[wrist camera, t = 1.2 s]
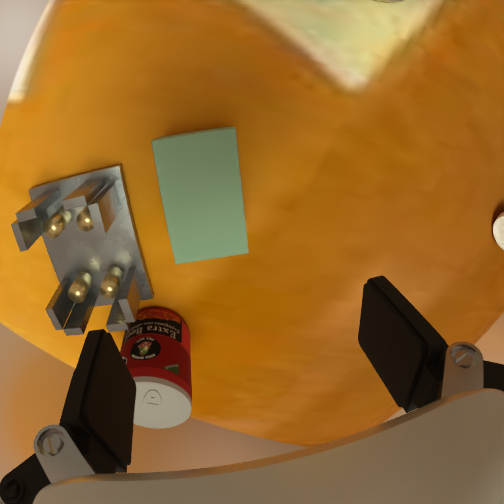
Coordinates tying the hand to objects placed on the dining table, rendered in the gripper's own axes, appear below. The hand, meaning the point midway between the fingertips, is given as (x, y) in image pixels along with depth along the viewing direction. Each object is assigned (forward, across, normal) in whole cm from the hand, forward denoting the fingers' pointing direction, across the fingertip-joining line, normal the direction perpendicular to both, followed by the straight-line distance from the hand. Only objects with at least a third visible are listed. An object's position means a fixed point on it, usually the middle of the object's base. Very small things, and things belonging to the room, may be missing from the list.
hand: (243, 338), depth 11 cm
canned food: (+21, +9, +15) cm, 27 cm away
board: (+16, +1, -1) cm, 16 cm away
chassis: (+20, +13, +3) cm, 24 cm away
